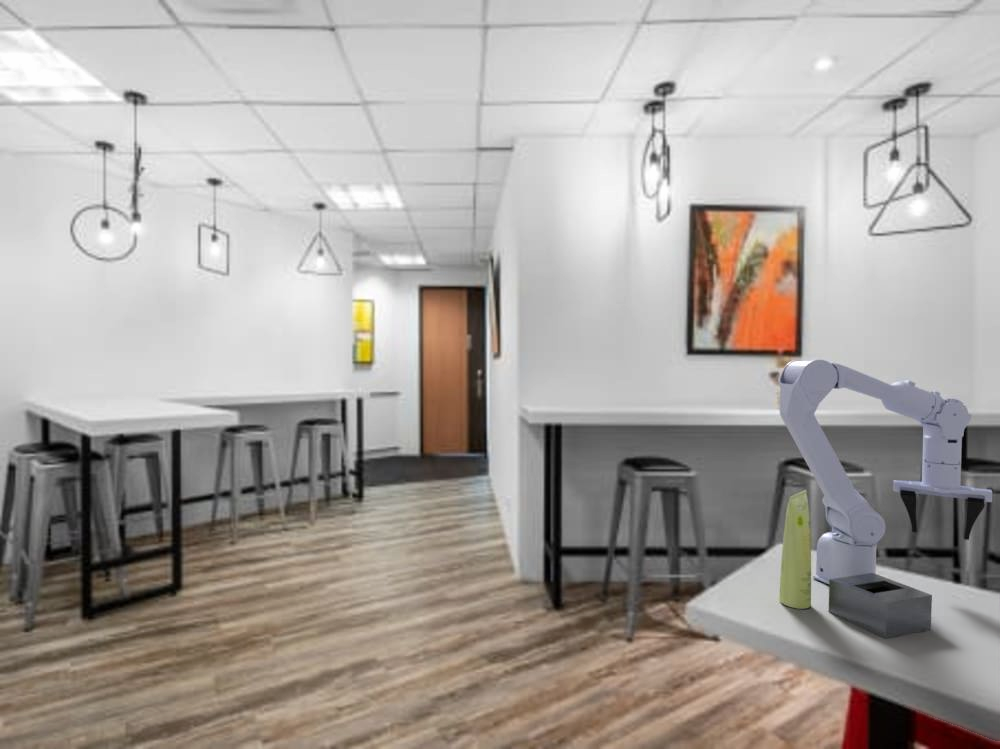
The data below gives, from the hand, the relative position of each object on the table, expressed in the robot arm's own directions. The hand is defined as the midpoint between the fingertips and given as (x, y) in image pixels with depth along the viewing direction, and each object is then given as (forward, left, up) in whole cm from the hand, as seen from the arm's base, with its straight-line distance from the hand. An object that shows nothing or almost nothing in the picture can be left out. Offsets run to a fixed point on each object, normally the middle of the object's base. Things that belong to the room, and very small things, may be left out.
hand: (939, 534), depth 107 cm
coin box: (+6, -23, -10) cm, 26 cm away
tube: (-3, -31, -11) cm, 33 cm away
